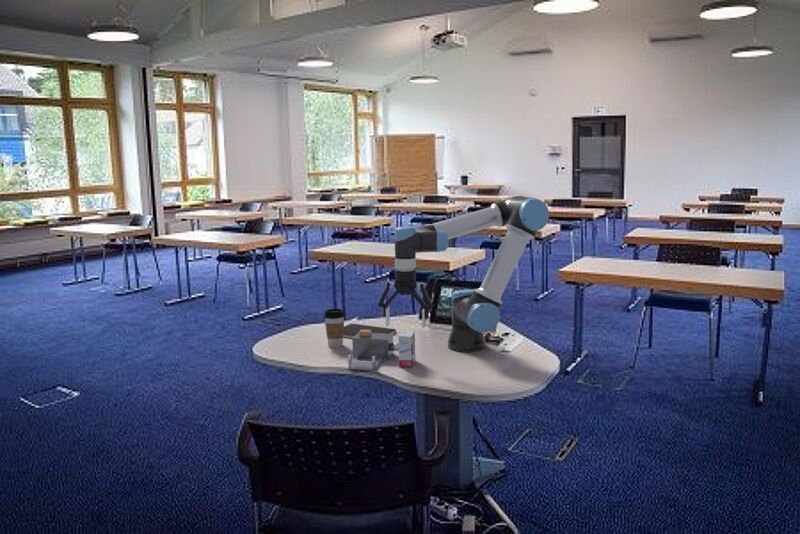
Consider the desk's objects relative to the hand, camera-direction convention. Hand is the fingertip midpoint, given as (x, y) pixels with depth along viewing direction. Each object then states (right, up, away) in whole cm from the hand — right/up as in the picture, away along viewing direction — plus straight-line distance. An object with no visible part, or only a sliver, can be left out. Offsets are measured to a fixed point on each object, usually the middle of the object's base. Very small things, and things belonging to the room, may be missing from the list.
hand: (405, 326), depth 246 cm
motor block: (-10, -13, +12) cm, 21 cm away
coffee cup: (-29, -11, +28) cm, 41 cm away
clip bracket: (-15, -14, +4) cm, 21 cm away
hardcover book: (-18, -8, +43) cm, 47 cm away
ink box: (+1, -14, +3) cm, 15 cm away
